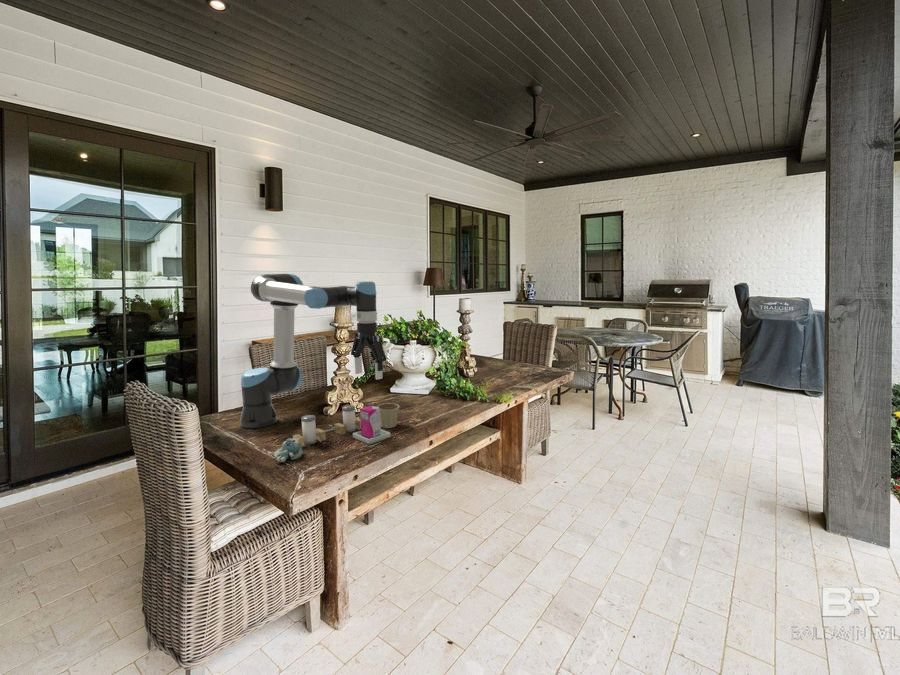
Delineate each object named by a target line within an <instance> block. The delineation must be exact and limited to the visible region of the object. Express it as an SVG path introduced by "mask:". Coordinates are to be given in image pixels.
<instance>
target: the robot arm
mask: <svg viewBox="0 0 900 675" xmlns="http://www.w3.org/2000/svg"><path fill="white" fill-rule="evenodd" d="M376 289H377V286H376V282H374V281H357V282H355V286H349V285H347V286H346V285H339V286H330V287H329V286H328V287H327V286H326V287H325V286H324V287H321V286H312V285H305V284H304V283H303V281H302V280H301V278H300V277H299V276H297V275H296V274H294V273H293V274H292V273H271V274H270V273H268V274H267V273H265V274H261V275H258V276H256V277H255V278H254V279H253V280H252V281H251V284H250V292H251V294H252V296H253V297H254V298H255V299H256V300H258V301H260V302H264V303H269V304H270V306H271V307H272V308H273V360H272V361H271V362H270V363H269V368H268V367H258V368H252V369H249V370H246V371H245V372H243V373H242V375H241V377H240V386H241V398H242V411H241V413H240V418H239V425H240V427H241V428H245V429H257V428H259V429H260V428H264V427H268V426H273V425H274V424H276V423H277V422H278V414H277V413H276V409H275V408H274V406H273V399H272V398H273V396H277V395H281V394H285V393H290V392H292V391H295V390H297V389H298V388H300V387H301V385H302V382H303V381H302V380H303V373H302V371H301V370H302V369H301V368H300V367H299V366H298V363H297V362H296V361H295V360H294V356H295V355H294V353H295V309H296V308H297V307H298V306H299V305H302V306H307V307H308V308H309V309H319V310H320V309H325V308H335V307H336V308H337V307H347V306H349V305H350V306H351V307H352V306H353V307H356V321H357V323H356V329H357V330H356V331H357V332H355V333H354V340H353V343H352V347H351V351H350V354H351V356H353V357H354V372H355V374H356V375H357V374H362V373H363V361H362V359H363V358H362V353H363V351H364V349H365V348H367V347H368V348H369V349H370V351H371V353H372V356H373V358H374V359H375V362H374V367H375V369H374V370H375V371H374V373H375V380H377V381H378V380H381V379H384V378H383V369H384V367H383V362H386V361H387V356H386V353H385V349H384V346H383V344H382V341H381V340H382V339H381V335H375V333H376V332H378V323H377V321H378V318H377V317H378V316H377V315H378V314H377V313H378V312H377V290H376ZM350 306H349V307H350Z"/></svg>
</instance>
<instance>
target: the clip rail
mask: <svg viewBox="0 0 900 675" xmlns="http://www.w3.org/2000/svg"><path fill="white" fill-rule="evenodd" d="M355 424H356V430H360V429H361V420H360V418H359V417H355ZM333 425H334V427H332V428H329V429H326V430H323V429H321V428H320V427H318V428H316V439H317V440H318V441H320V442H323V441H326V438H327V437H326V434H327V433H332V432H334V434H335V433H336V434H338V435H340V436H344V435H346V434H347V433H346V431H345V425H343V423H339V422H337V423H333ZM292 439H298V440H299V442H300V444H301V447H302V448H304V447H305V444H304V437H303V435H300V434H299V433H296V434H293V435H292Z"/></svg>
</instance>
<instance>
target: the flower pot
mask: <svg viewBox="0 0 900 675" xmlns="http://www.w3.org/2000/svg"><path fill="white" fill-rule="evenodd" d="M376 407H379V408H380V422H381V428H385V429H392V428H394V427H395V428H396V426H397V421H398V412H399V408H400V405H399V404H398V403H392V402H391V403H390V402H389V403H382V404H379V405H377V406H376Z"/></svg>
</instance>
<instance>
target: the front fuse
mask: <svg viewBox="0 0 900 675" xmlns="http://www.w3.org/2000/svg"><path fill="white" fill-rule="evenodd" d="M300 419H301V430H302V432H301V433H302V434H301V435H302V437H304V445H306V446H307V445H314V444H316V443H317V440H318V439H316V429H317V428H316V415H313V414H308V415H303V416H301V418H300Z"/></svg>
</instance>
